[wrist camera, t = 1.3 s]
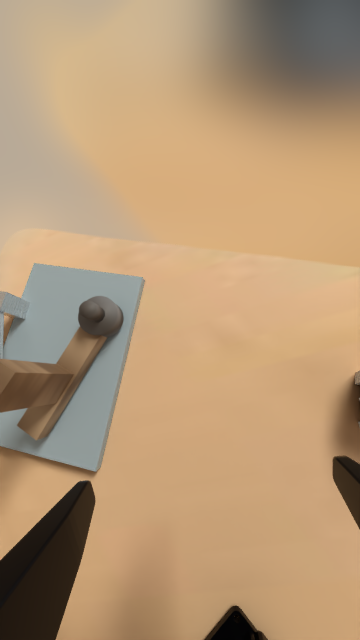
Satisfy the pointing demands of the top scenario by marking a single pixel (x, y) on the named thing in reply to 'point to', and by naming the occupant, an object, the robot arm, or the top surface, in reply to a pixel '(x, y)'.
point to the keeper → (11, 311)
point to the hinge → (357, 383)
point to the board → (49, 344)
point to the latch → (57, 370)
